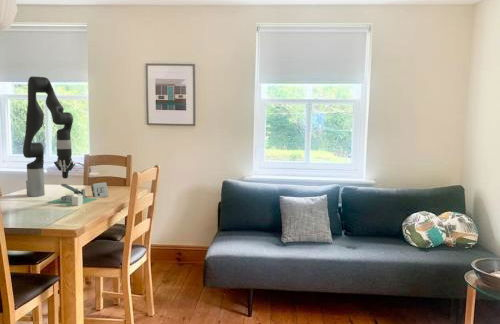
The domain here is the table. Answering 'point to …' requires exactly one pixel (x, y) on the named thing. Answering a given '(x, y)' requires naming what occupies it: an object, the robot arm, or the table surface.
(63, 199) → the white slotted block
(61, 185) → the thin grey panel
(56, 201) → the board
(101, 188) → the electrical switch
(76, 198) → the latch
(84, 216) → the table surface
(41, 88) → the robot arm
